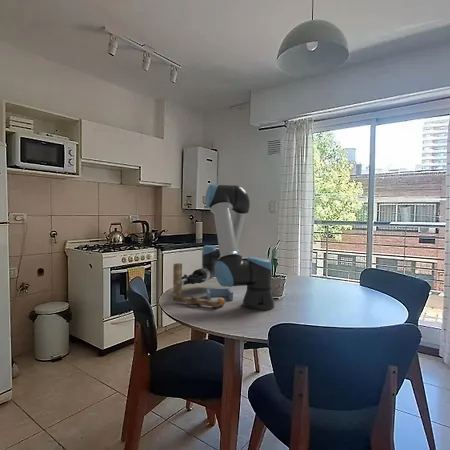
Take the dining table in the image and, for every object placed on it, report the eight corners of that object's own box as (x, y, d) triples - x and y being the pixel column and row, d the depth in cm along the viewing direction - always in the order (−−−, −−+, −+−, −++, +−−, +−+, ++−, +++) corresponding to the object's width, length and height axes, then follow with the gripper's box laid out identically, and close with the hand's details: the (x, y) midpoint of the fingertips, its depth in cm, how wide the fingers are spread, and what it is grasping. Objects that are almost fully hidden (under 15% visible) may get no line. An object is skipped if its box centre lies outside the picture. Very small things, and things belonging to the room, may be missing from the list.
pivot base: (203, 304, 165) (203, 302, 165) (196, 308, 159) (196, 306, 159) (190, 302, 168) (190, 301, 168) (183, 306, 162) (183, 304, 162)
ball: (226, 306, 163) (226, 297, 163) (220, 307, 160) (220, 299, 160) (220, 304, 166) (220, 296, 166) (214, 306, 163) (214, 297, 163)
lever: (219, 305, 160) (220, 267, 159) (217, 307, 157) (218, 268, 156) (176, 299, 169) (176, 263, 168) (173, 300, 166) (173, 264, 165)
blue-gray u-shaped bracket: (232, 300, 173) (233, 292, 173) (208, 301, 171) (208, 293, 171) (229, 295, 183) (229, 288, 183) (206, 295, 181) (206, 288, 181)
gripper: (211, 283, 188) (190, 292, 166) (190, 281, 193) (167, 289, 171) (211, 269, 188) (191, 277, 166) (190, 267, 193) (167, 275, 171)
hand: (179, 283), depth 168 cm, fingers closed
